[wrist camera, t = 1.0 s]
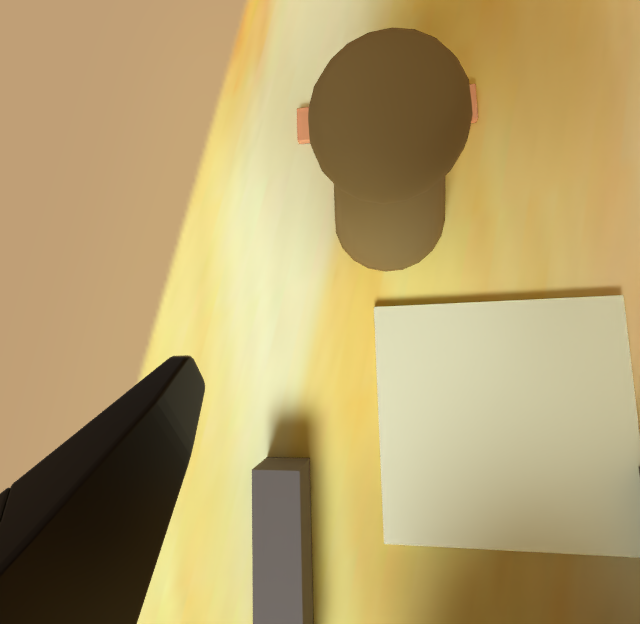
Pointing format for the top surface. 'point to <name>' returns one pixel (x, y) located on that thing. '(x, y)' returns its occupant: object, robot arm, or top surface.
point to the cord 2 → (282, 542)
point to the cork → (390, 142)
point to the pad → (509, 426)
